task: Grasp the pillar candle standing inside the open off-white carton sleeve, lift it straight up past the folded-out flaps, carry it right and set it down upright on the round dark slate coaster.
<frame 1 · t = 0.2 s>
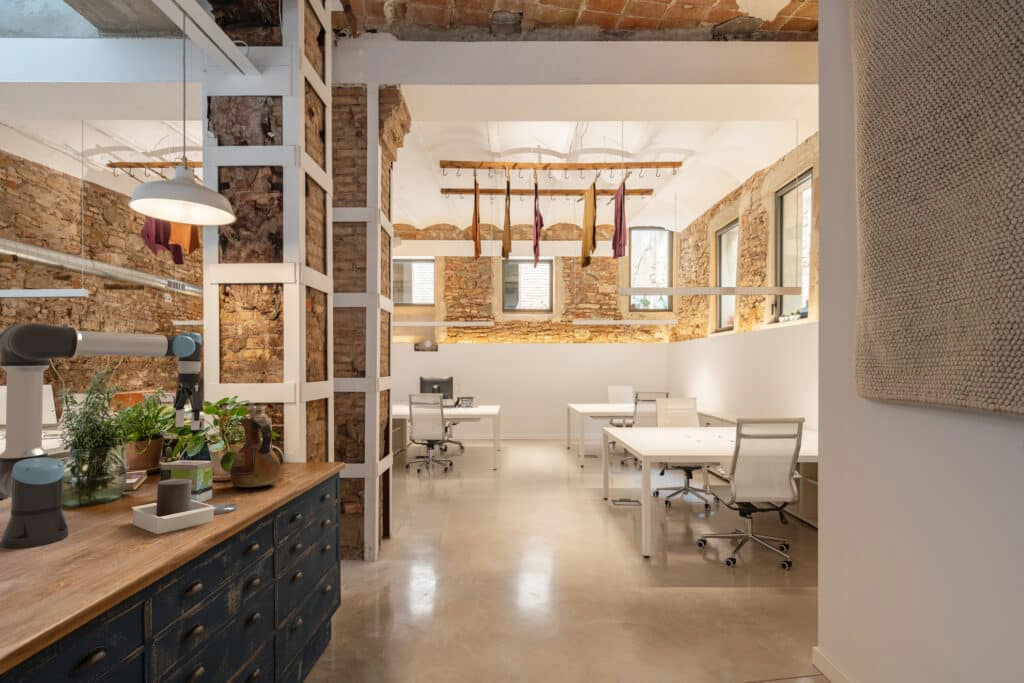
hand: (187, 428, 213), 28 cm above the counter, fingers open, 13 cm apart
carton: (173, 523, 184), on the counter
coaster: (218, 510, 200), on the counter
ceramic pitcher: (255, 487, 237), on the counter
tea box: (186, 501, 213), on the counter
pillar candle: (173, 523, 184), resting in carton
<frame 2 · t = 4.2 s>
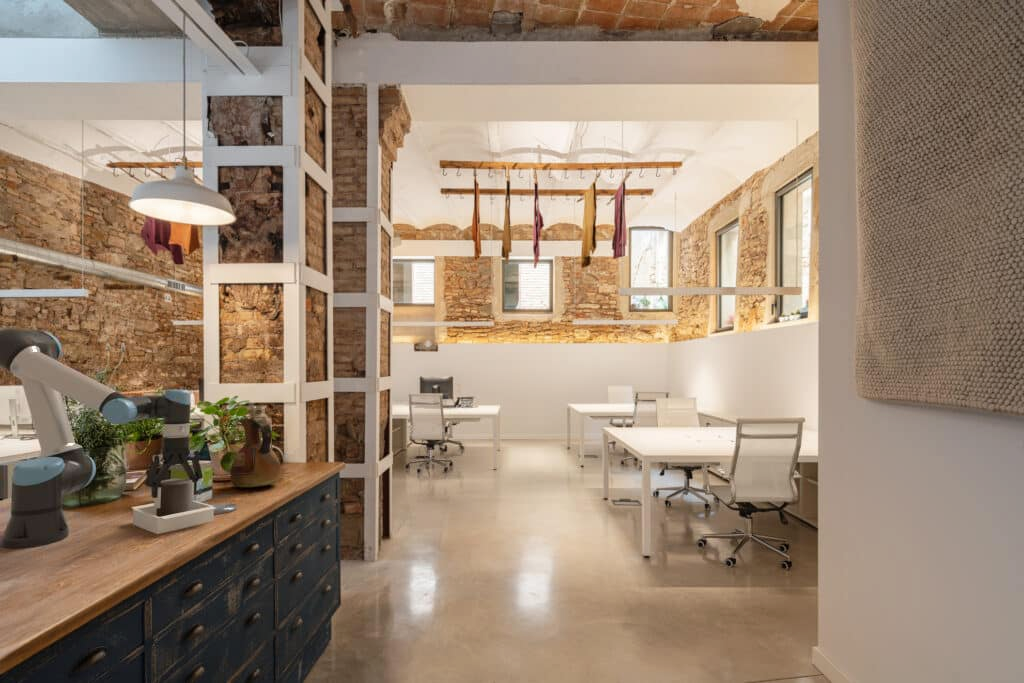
hand: (174, 504, 184), 6 cm above the counter, fingers closed on pillar candle, 10 cm apart
pillar candle: (173, 523, 184), resting in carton, touching gripper
everything else where it was.
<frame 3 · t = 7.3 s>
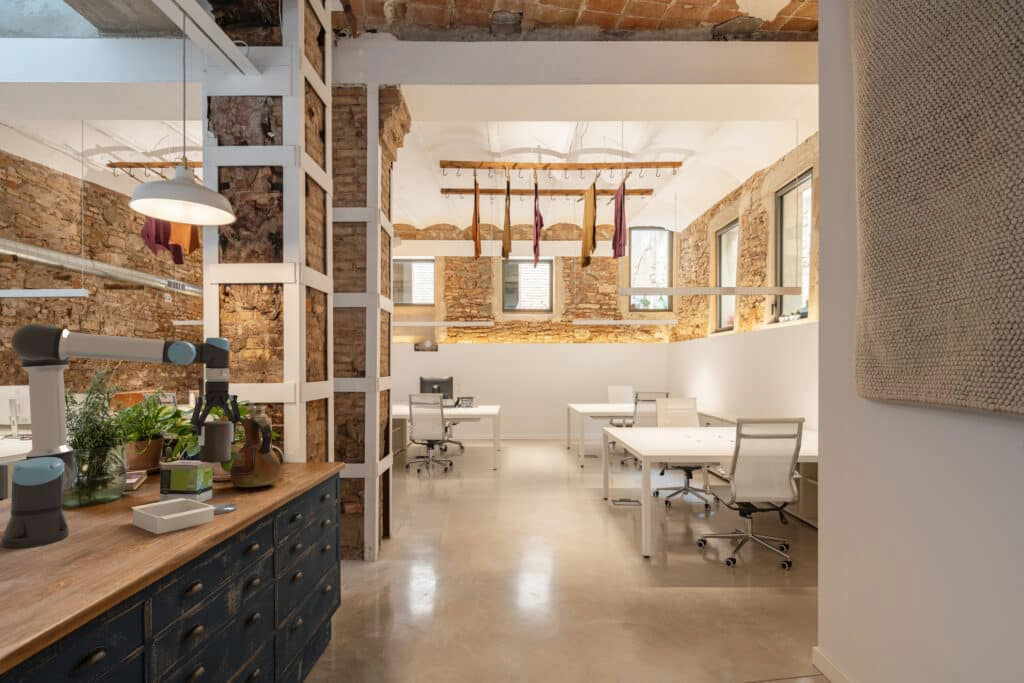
hand: (216, 443, 199), 24 cm above the counter, fingers closed on pillar candle, 10 cm apart
pillar candle: (216, 461, 199), point 18 cm above the counter, touching gripper
everything else where it was.
when the fingers open (9 cm above the counter, at t = 10.9 s): pillar candle drops 1 cm, resting on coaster.
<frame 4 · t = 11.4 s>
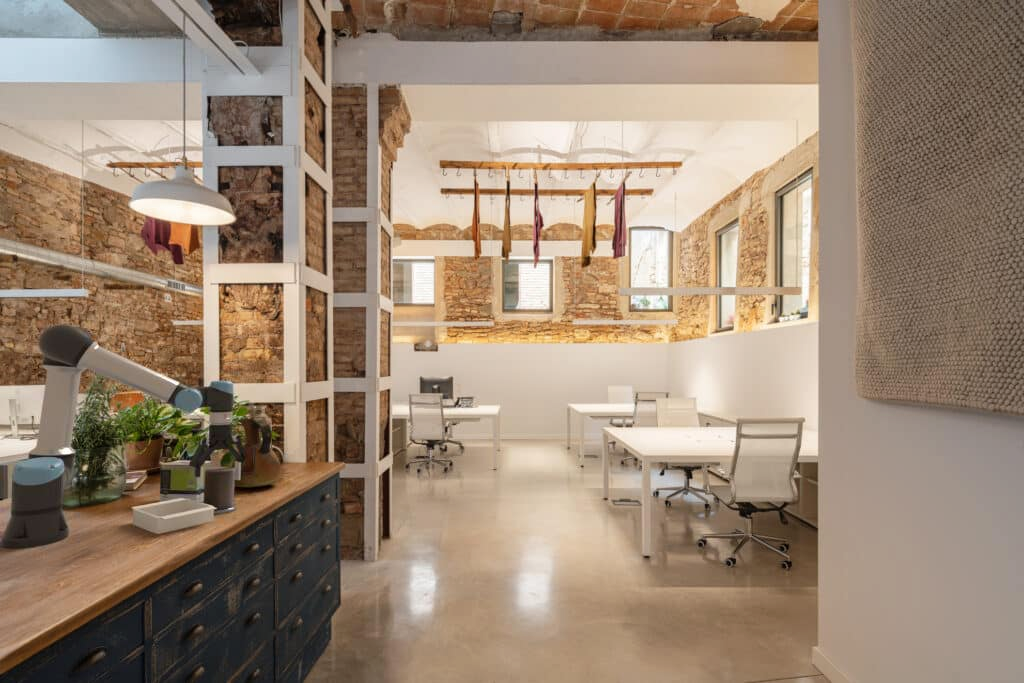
hand: (219, 482, 200), 10 cm above the counter, fingers open, 13 cm apart
pillar candle: (218, 507, 200), point 1 cm above the counter, touching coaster
everything else where it was.
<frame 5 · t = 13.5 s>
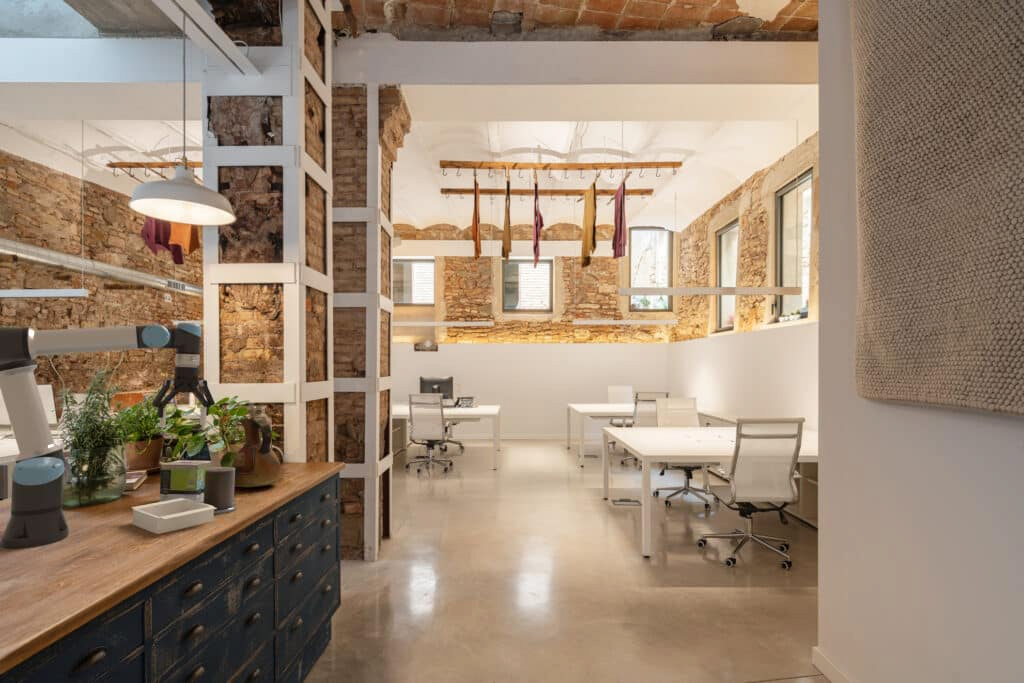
hand: (183, 426, 197), 30 cm above the counter, fingers open, 13 cm apart
nothing on the counter moved.
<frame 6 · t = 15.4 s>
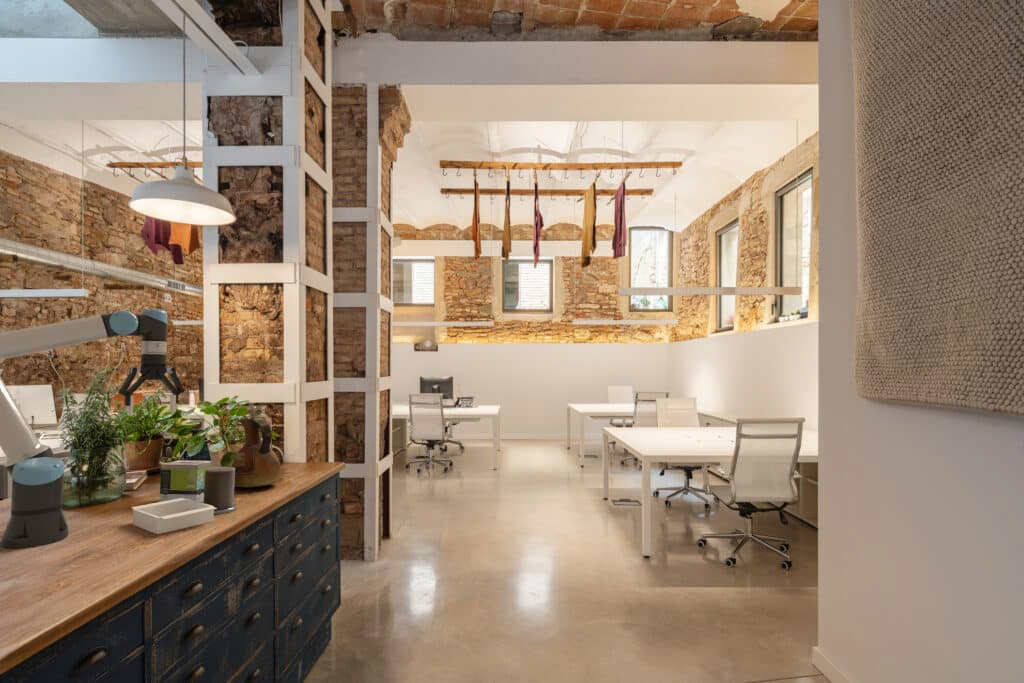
hand: (151, 414, 195), 35 cm above the counter, fingers open, 13 cm apart
nothing on the counter moved.
at the end: pillar candle inside the target area on the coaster (0.2 cm from its centre), point 0.8 cm above the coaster's base; pillar candle tilted 0°; the gripper is holding nothing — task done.
